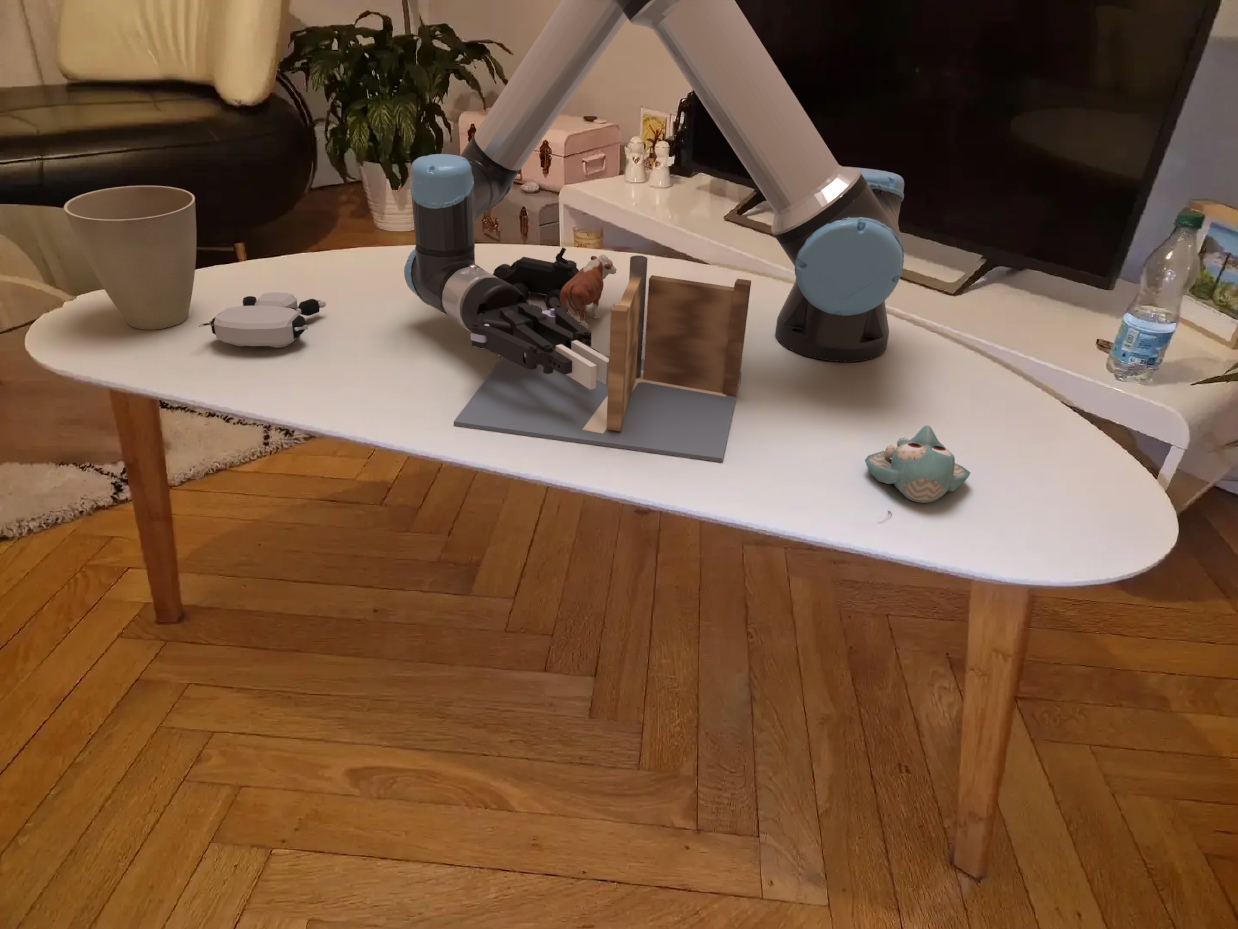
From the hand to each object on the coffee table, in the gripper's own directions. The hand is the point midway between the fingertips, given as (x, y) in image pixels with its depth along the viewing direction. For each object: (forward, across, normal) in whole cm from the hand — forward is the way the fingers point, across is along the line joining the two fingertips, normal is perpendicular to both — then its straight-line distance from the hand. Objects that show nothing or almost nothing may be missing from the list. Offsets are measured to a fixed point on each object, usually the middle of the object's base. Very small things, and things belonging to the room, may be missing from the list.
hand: (601, 375), depth 100 cm
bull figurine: (-27, +18, +7) cm, 33 cm away
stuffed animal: (+27, +21, +7) cm, 35 cm away
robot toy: (-45, -20, +8) cm, 50 cm away
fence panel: (-3, +5, +6) cm, 9 cm away
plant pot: (-58, -30, +8) cm, 66 cm away
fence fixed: (-3, +15, +7) cm, 17 cm away
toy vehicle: (-39, +17, +8) cm, 43 cm away
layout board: (-6, +6, +7) cm, 10 cm away
